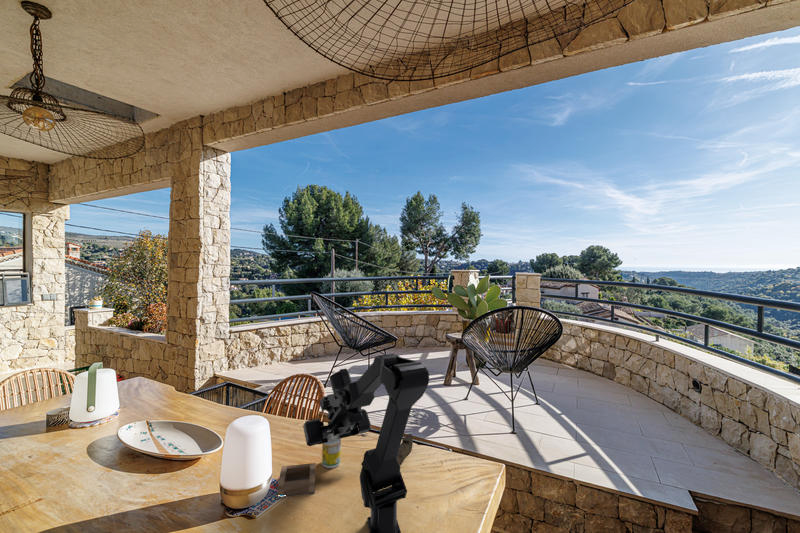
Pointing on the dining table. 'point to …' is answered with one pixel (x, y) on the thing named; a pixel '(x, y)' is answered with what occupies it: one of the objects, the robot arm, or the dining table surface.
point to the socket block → (297, 480)
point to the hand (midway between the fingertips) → (330, 439)
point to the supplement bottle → (331, 451)
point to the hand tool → (405, 448)
